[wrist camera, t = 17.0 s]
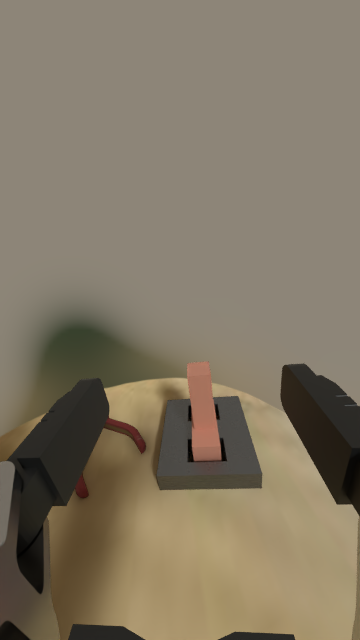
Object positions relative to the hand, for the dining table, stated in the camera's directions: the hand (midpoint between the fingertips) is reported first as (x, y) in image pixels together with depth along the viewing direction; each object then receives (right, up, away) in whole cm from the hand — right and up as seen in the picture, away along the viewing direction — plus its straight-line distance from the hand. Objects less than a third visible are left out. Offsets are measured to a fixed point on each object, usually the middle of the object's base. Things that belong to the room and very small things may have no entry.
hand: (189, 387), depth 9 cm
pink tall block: (+4, -18, +25) cm, 31 cm away
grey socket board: (+4, -18, +25) cm, 31 cm away
